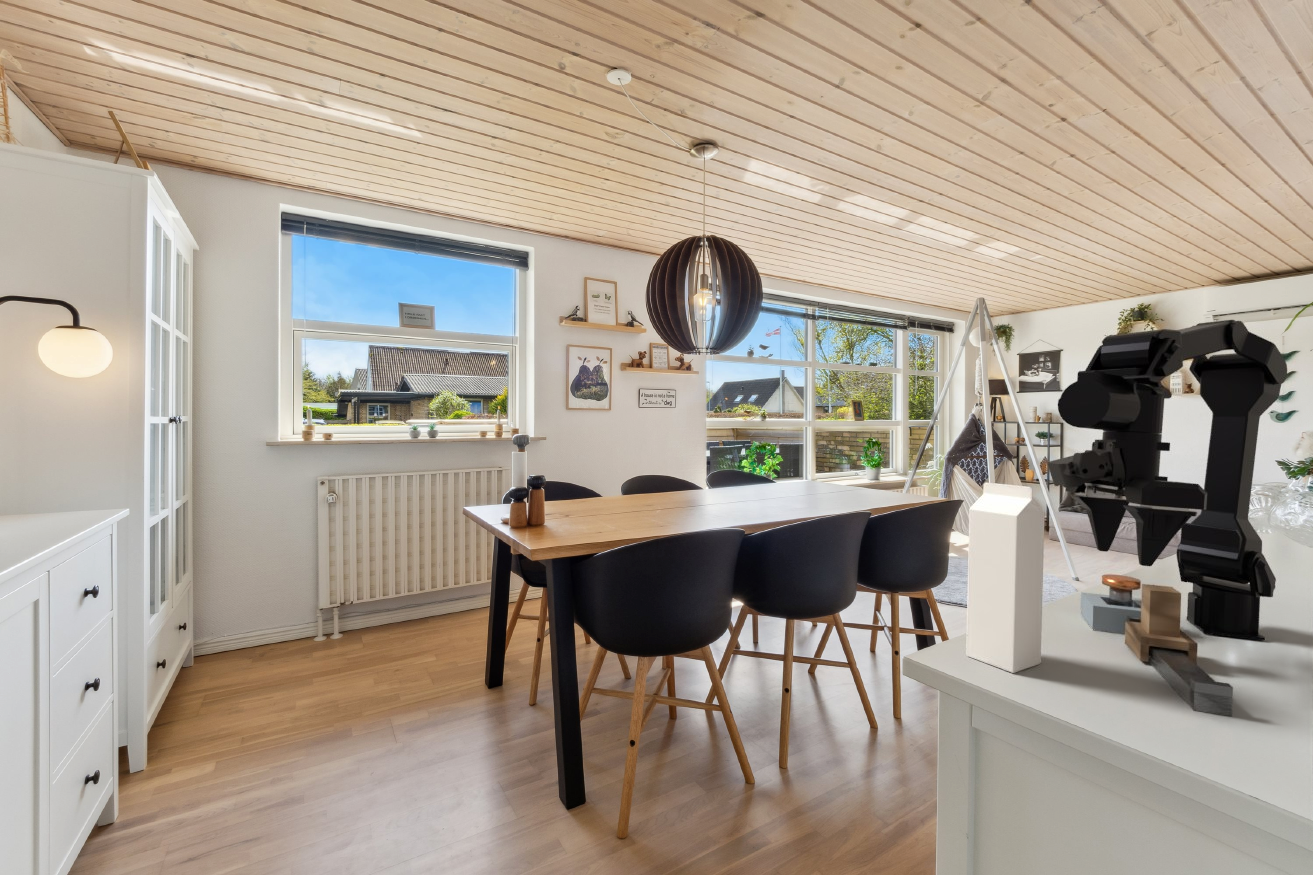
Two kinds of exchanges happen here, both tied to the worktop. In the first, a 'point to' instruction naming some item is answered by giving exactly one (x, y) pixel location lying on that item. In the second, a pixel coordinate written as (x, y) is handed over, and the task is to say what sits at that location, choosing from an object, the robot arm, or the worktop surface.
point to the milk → (1005, 578)
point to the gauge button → (1120, 589)
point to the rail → (1190, 680)
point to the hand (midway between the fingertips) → (1122, 557)
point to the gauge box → (1107, 612)
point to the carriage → (1159, 624)
